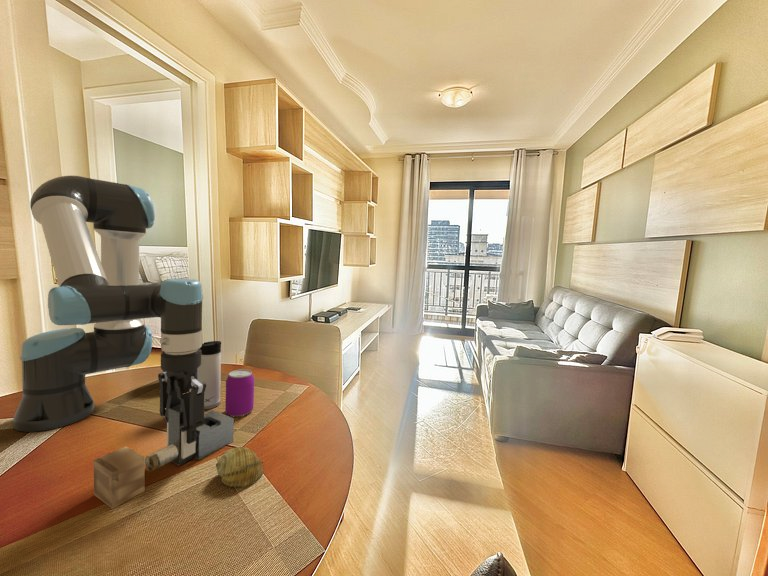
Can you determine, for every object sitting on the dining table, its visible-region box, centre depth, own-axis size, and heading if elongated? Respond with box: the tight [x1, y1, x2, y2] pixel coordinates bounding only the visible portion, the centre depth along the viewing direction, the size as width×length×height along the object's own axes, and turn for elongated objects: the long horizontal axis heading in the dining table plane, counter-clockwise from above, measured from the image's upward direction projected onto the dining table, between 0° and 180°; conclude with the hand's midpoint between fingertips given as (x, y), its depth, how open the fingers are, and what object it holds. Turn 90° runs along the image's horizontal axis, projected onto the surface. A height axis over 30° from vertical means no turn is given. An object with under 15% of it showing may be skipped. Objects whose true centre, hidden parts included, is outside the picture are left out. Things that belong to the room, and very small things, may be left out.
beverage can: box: [225, 368, 255, 418], centre depth 94 cm, size 8×8×12 cm
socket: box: [93, 446, 146, 510], centre depth 60 cm, size 5×7×7 cm
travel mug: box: [197, 340, 222, 410], centre depth 97 cm, size 6×7×20 cm
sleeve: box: [193, 410, 235, 461], centre depth 77 cm, size 9×6×7 cm
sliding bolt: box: [144, 404, 218, 472], centre depth 72 cm, size 16×4×12 cm, turn 154°
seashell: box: [215, 446, 264, 489], centre depth 67 cm, size 10×7×8 cm
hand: (181, 451), depth 71 cm, fingers open, 4 cm apart
